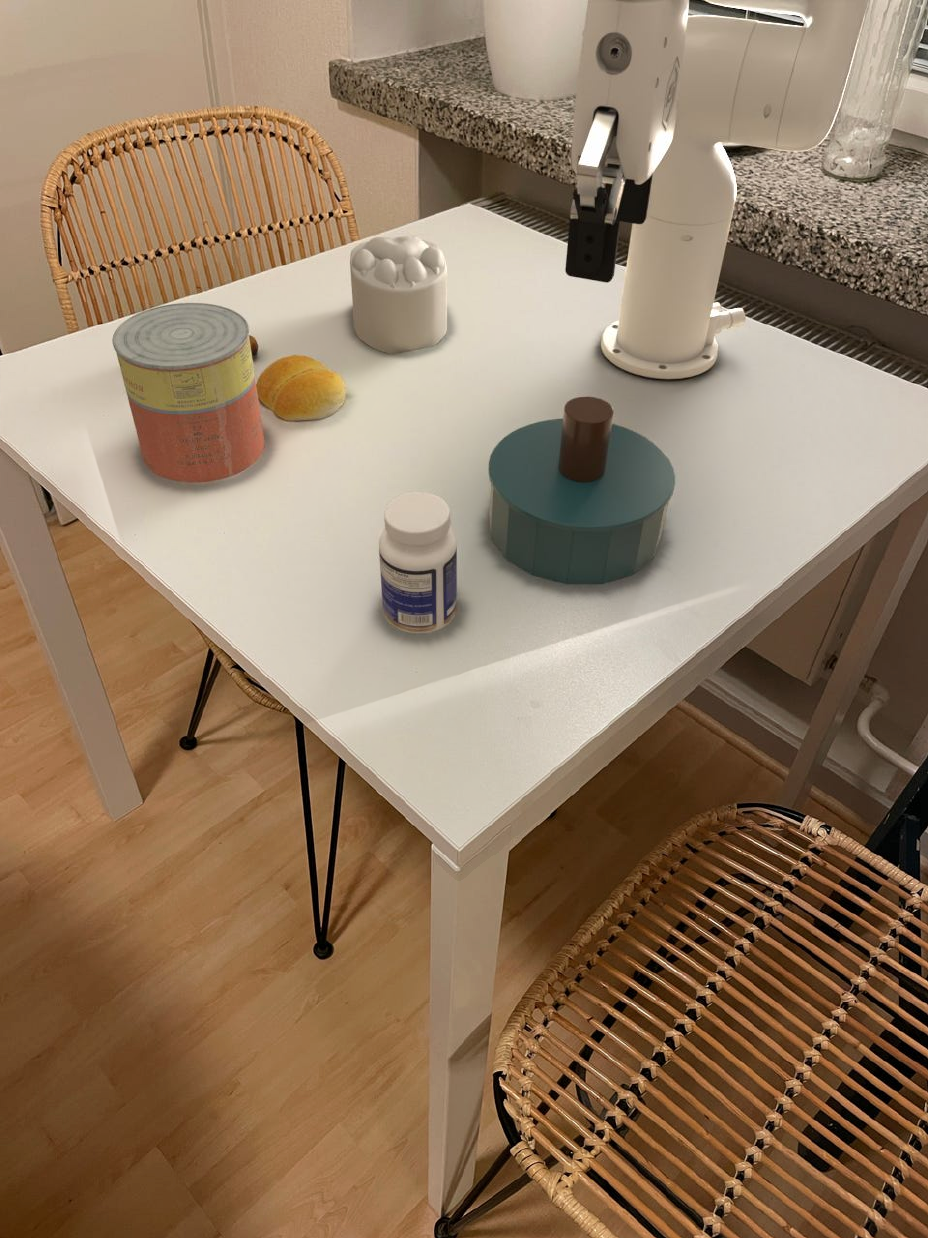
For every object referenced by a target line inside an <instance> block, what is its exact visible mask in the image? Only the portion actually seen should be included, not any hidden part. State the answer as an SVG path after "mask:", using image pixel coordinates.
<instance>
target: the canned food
mask: <svg viewBox="0 0 928 1238" xmlns="http://www.w3.org/2000/svg"><path fill="white" fill-rule="evenodd" d="M249 335H250V326H249V322H248V321H247V320H246V318H245V317H243V316H242V315H241V314H240V313H239V312H236V311H235V310H232V309H231V308H228V307H225V306H222V305H218V304H212V303H207V302H206V303H205V302H181V303H180V302H179V303H171V304H165V305H160V306H155V307H152V308H149V309H146V310H144V311H141V312H138V313H136V314H134V315H132V316H131V317H129V318H127V319H126V320H124V321H123V322H122V323H121V324H119V326H118V327H117V328H116V329H115V330H114V333H113V335H112V346H113V349H114V351H115V353H116V357H117V360H118V364H119V369H120V372H121V377H122V380H123V384H124V388H125V392H126V396H127V400H128V405H129V407H130V412H131V414H132V420H133V423H134V428H135V432H136V435H137V440H138V443H139V447H140V451H141V454H142V459H143V461H144V464H145V466H146V467H147V468H148V469H149V470H150V471H151V472H153V473H154V474H156V475H157V476H159V477H161V478H165V479H167V480H171V481H174V482H181V483H208V482H213V481H219V480H223V479H226V478H229V477H232V476H234V475H237V474H239V473H241V472H243V471H245V470H247V469H248V468H249V467H250V468H251V466H252V465H254V463H256V462H257V461H258V459H259V458H260V457H261V455H263V452H264V449H265V434H264V429H263V420H262V414H261V409H260V408H261V407H260V399H259V397H258V394H257V387H256V383H257V380H256V374H255V367H254V360H253V356H252V353H251V346H250V339H249Z"/></svg>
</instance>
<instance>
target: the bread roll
mask: <svg viewBox="0 0 928 1238" xmlns="http://www.w3.org/2000/svg"><path fill="white" fill-rule="evenodd" d="M345 384H346V383H345V381H344V379H343V378H342V376H341V374H338V373H337V372H336V371H333V370H330V369H329V368H327V366H326V365H324V364H323V363H322V362H321V361H319V360H317V359H315V358H314V357H312V356H311V357H310V356H307V355H299V354H291V355H287V356H283V357H281V358H279V359H277V360H275V361H274V362H271V364H269V365H268V366H267V367H266V368H265V369H264V370H263V371H262V372H261V373H260V375H259V376H258V378H257V380H256V387H257V394H258V400H259V401H260V402H261V403H262V404H263V405H264V406H265V407H266V408H268V409H269V410H271V411H272V412H273V413H274V414H275V415H276V416H277V417H278V418H280V419H282V420H284V421H287V422H288V421H289V422H301V421H316V420H322V419H326V418H327V417H330V416H332V415H334V414H335V413H337V412H338V411H339V410H340V409H341V408H342V407H343V405H344V404H345V402H346V399H347V398H346V397H347V388H346V385H345Z"/></svg>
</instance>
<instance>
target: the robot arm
mask: <svg viewBox="0 0 928 1238" xmlns="http://www.w3.org/2000/svg"><path fill="white" fill-rule="evenodd" d="M704 1H705V2H707V3H709V4H713V5H717V6H723V7H726V8H727V7H728V8H735V9H742V10H749V11H756V12H757V11H758V12H765V13H766V12H767V13H775V14H784V15H794V16H799V17H801V18H802V19H803V20H804V21H805V23H806V25H807V26H804V25H793V24H785V23H777V22H769V21H768V22H767V21H759V20H758V19H748V18H741V17H740V18H739V17H738V18H737V17H730V16H721V15H708V14H705V15H704V14H697V15H689V5H690V0H587V6H586V13H585V20H584V26H583V27H584V28H583V30H582V42H581V50H580V57H579V66H578V74H577V81H576V82H577V84H576V94H575V102H574V111H573V112H574V113H573V122H572V136H571V137H572V138H571V167H572V170H573V171H574V172H575V174H576V186H575V188H574V189H573V193H572V196H573V197H572V203H571V205H570V213H569V214H570V215H569V222H568V223H569V225H568V236H567V247H566V256H565V257H566V258H565V269H564V271H565V274H566V275H567V276H568V277H573V278H579V279H583V280H589V281H595V282H600V283H610V282H612V280H613V278H614V276H615V271H616V270H615V269H616V264H617V263H616V262H617V255H618V246H619V239H620V233H621V223H622V222H623V223H629V224H631V231H630V239H629V246H628V253H627V259H626V266H625V267H626V268H625V274H624V279H623V280H624V281H623V286H622V287H623V288H622V295H621V301H620V307H619V308H620V310H619V315H618V320H616V321H614V322H612V323H611V324H609V325H608V326H607V327H605V330H603V333H602V335H601V341H600V348H601V351H602V354H603V355H604V357H606V359H607V360H609V362H610V363H612V364H613V365H614V366H616V367H618V368H620V369H622V370H623V371H626V372H628V373H630V374H633V375H635V376H636V375H637V376H641V377H645V378H650V379H659V380H661V379H662V380H678V379H686V378H687V379H688V378H691V377H694V376H698V375H700V374H703V373H704V372H706V371H708V370H710V369H711V368H712V367H714V365H715V363H716V362H717V358H718V353H719V344H718V342H717V340H716V338H715V335H718V334H720V333H721V332H722V330H725V329H732V328H736V327H740V326H743V325H744V324H745V323H746V313H745V310H744V309H743V308H742V307H737V308H736V307H735V308H732V309H727V310H725V311H722V306H721V304H720V302H715V299H716V294H717V289H718V284H719V280H720V274H721V270H722V267H723V262H724V256H725V251H726V248H727V247H726V246H727V242H728V237H729V233H730V228H731V223H732V219H733V214H734V210H735V205H736V200H737V199H736V198H737V182H736V176H735V173H734V169H733V167H732V164H731V161H730V158H729V156H728V155H727V152H726V150H725V148H724V147H723V144H734V145H742V146H749V147H756V148H762V149H763V148H764V149H769V150H776V151H777V150H778V151H786V152H807V151H810V150H813V149H815V148H817V147H818V146H820V144H822V143H823V142H824V141H825V140H826V138H827V137H828V135H829V133H830V131H831V130H832V127H833V125H834V123H835V120H836V119H837V115H838V113H839V109H840V108H841V103H842V100H843V96H844V92H845V90H846V86H847V83H848V78H849V75H850V72H851V68H852V65H853V62H854V61H853V60H854V57H855V54H856V50H857V46H858V42H859V39H860V36H861V35H860V34H861V32H862V27H863V24H864V21H865V16H866V13H867V11H868V10H867V9H868V6H869V2H870V0H704ZM606 164H607V166H605V165H606ZM602 184H604V185H605V186H604V187H601V186H602Z"/></svg>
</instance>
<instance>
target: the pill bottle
mask: <svg viewBox="0 0 928 1238" xmlns="http://www.w3.org/2000/svg"><path fill="white" fill-rule="evenodd" d="M383 517H384V519H383V520H384V530H383V531H382V532H381V534H380V536H379V540H378V555H379V570H380V582H381V583H380V584H381V585H380V589H381V602H382V612H383V615H384V617H385V620H387V622H388V623H389V624H390V625H392V626H393V627H394V628H396V629H398V630H399V631H402V632H407V633H411V634H429V633H433V632H436V631H438V630H441V629H443V628H444V627H446V626H447V625H449V624H450V623H451V622H452V621H453V619H454V618H455V615H456V612H457V608H458V607H457V605H458V604H457V601H458V593H457V592H458V591H457V589H458V577H457V576H458V570H457V569H458V566H457V565H458V561H457V560H458V542H457V537H456V535H455V533H454V531H453V529H452V528H451V525H452V524H451V509H450V506H449V504H448V502H446V501H445V500H444V499H443V498H442V497H440V496H439V495H437V494H433V493H430V492H426V491H425V492H424V491H412V492H406V493H403V494H400V495H398V496H395V497H394V498H393V499H391V500H390V501H389V502H388V503H387V504H386V506H385V508H384V512H383Z"/></svg>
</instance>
